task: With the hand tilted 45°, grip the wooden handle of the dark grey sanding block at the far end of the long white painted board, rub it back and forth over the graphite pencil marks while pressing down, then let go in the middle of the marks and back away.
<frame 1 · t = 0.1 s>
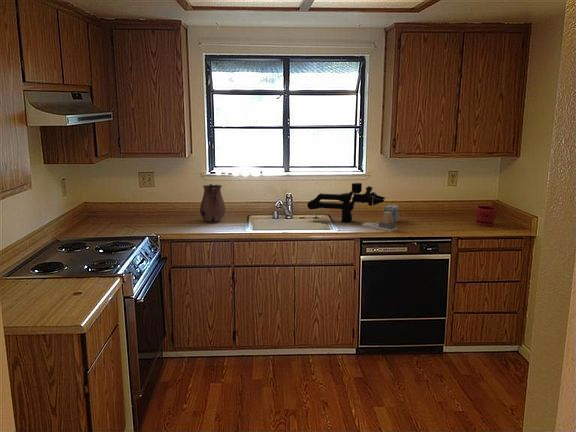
hand: (384, 199, 335), 17 cm above the worktop, tool horizontal, fingers open, 9 cm apart
light bulb box: (390, 221, 344), on the worktop
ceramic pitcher: (213, 221, 346), on the worktop
plant pot: (485, 225, 334), on the worktop
marked board: (379, 227, 327), on the worktop
sanding block: (387, 227, 322), point 2 cm above the worktop, touching marked board
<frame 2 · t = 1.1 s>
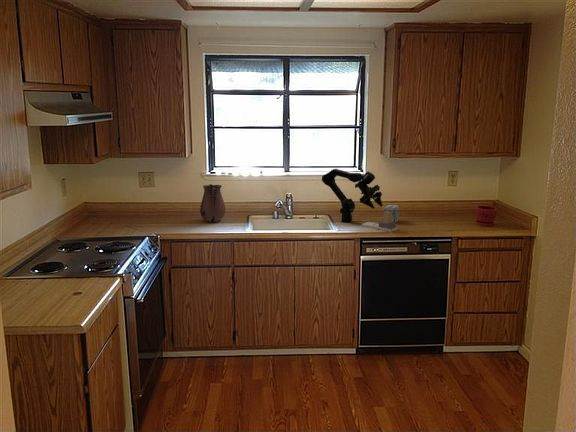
hand: (378, 207, 325), 14 cm above the worktop, tool tilted 45°, fingers open, 9 cm apart
nothing on the worktop moved.
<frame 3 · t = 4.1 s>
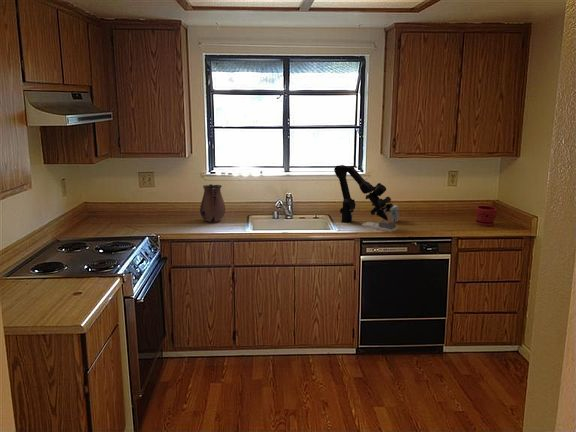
hand: (389, 219, 320), 7 cm above the worktop, tool tilted 45°, fingers closed on sanding block, 4 cm apart
sanding block: (387, 227, 322), point 2 cm above the worktop, touching gripper, marked board
everything else where it was.
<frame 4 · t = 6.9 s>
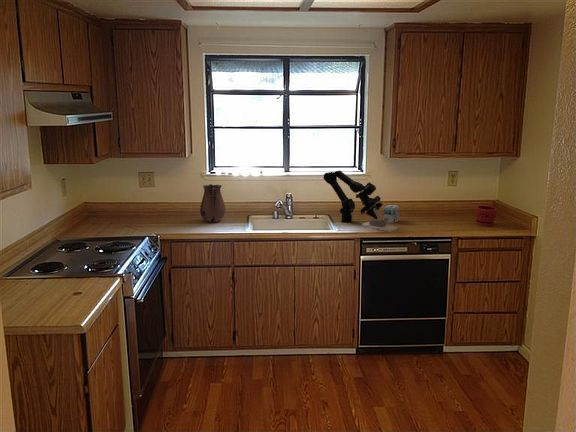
hand: (378, 218, 326), 6 cm above the worktop, tool tilted 45°, fingers closed on sanding block, 4 cm apart
sanding block: (377, 225, 327), point 2 cm above the worktop, touching gripper
everything else where it was.
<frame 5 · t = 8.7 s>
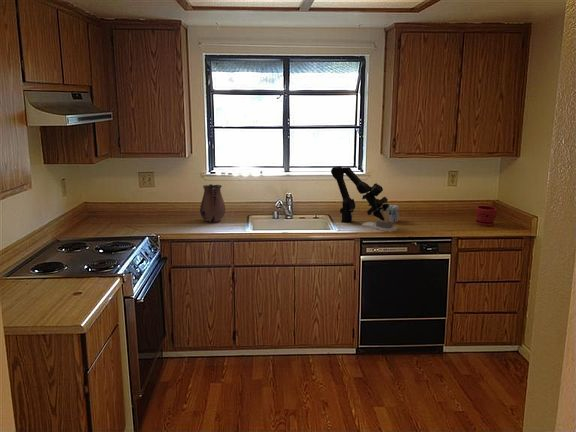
hand: (385, 219, 322), 6 cm above the worktop, tool tilted 45°, fingers closed on sanding block, 4 cm apart
sanding block: (384, 226, 324), point 2 cm above the worktop, touching gripper
everything else where it was.
when the fingers open (7 cm above the worktop, at t = 9.8 s): sanding block stays where it is, resting on marked board.
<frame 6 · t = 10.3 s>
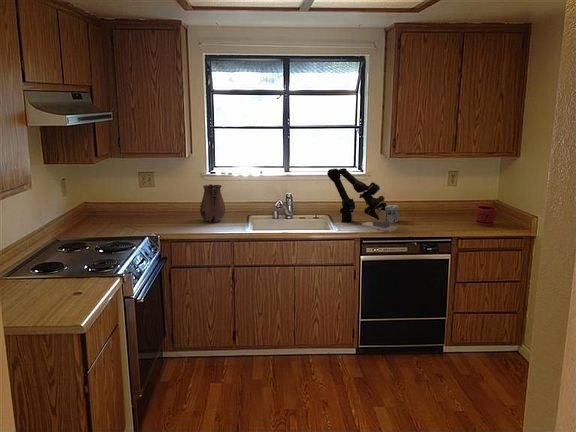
hand: (382, 218, 323), 7 cm above the worktop, tool tilted 45°, fingers open, 9 cm apart
sanding block: (381, 226, 325), point 2 cm above the worktop, touching marked board
everything else where it was.
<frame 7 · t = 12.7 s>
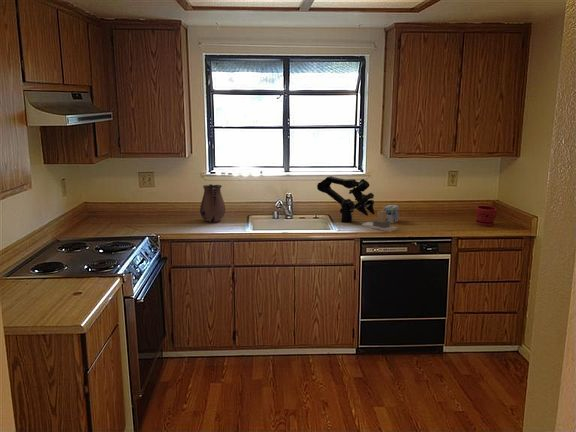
hand: (370, 214, 330), 8 cm above the worktop, tool tilted 40°, fingers open, 9 cm apart
nothing on the worktop moved.
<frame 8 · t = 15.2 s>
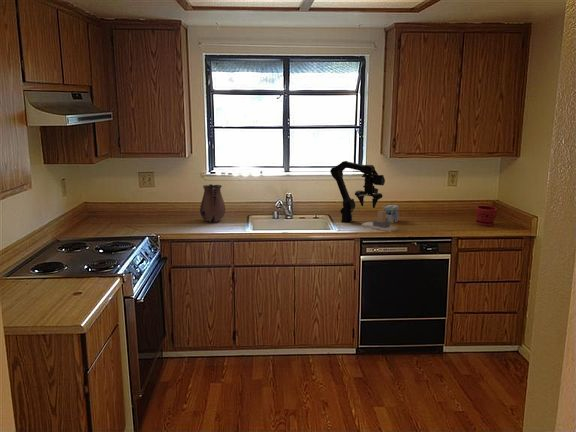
hand: (368, 207, 333), 12 cm above the worktop, tool pointing down, fingers open, 9 cm apart
nothing on the worktop moved.
at the end: sanding block inside the target area (0.5 cm from its centre), point 1.5 cm above the worktop; sanding block tilted 0°; the gripper is holding nothing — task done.
